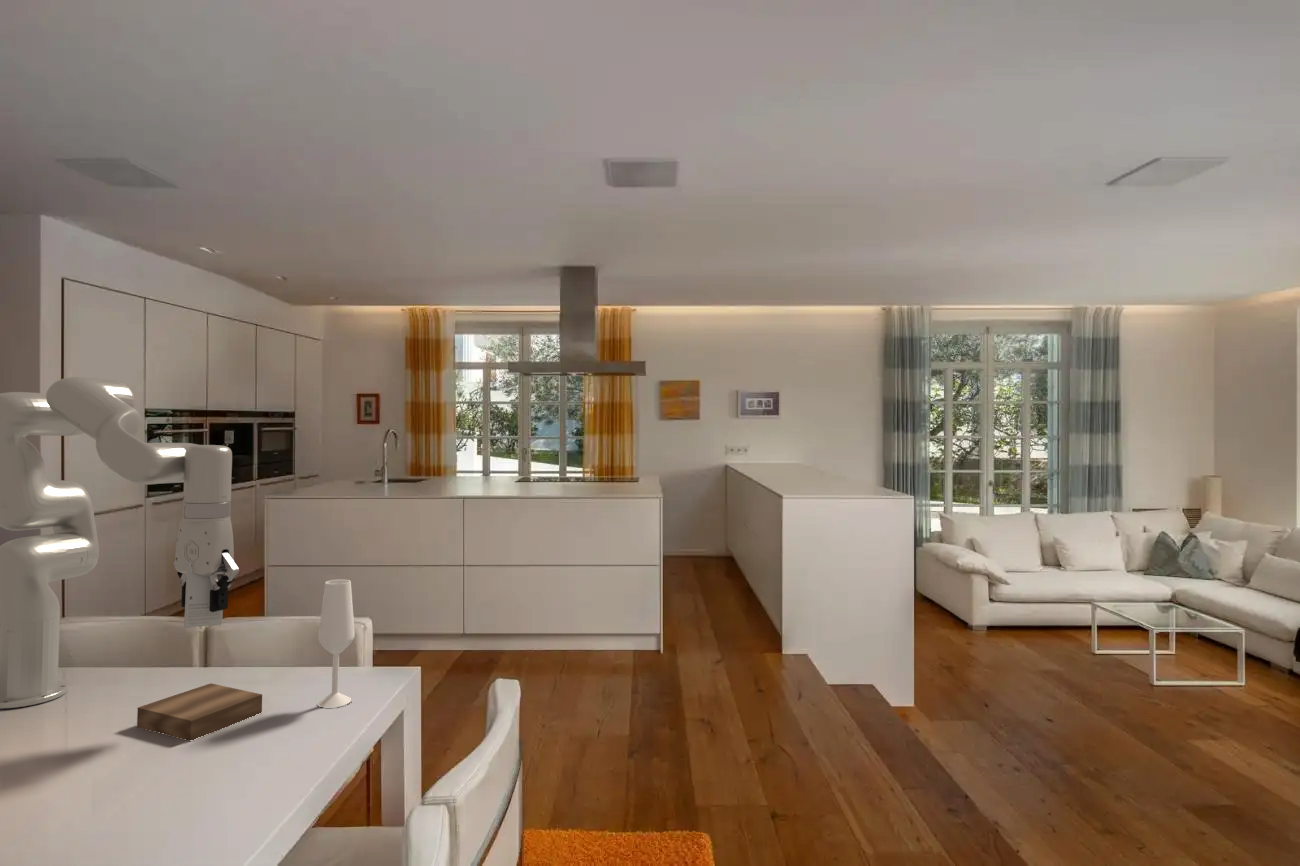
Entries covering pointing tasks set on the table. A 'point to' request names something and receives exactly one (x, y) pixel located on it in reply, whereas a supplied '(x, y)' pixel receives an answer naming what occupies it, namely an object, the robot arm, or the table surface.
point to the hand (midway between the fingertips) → (204, 607)
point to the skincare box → (199, 601)
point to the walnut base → (199, 711)
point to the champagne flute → (336, 631)
